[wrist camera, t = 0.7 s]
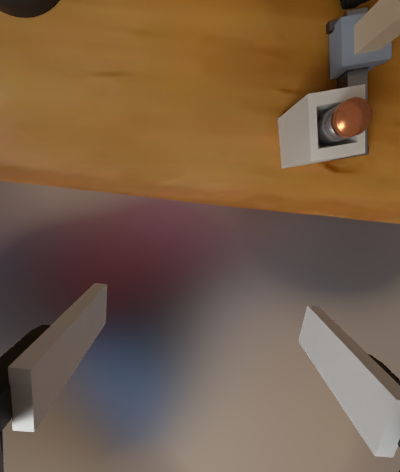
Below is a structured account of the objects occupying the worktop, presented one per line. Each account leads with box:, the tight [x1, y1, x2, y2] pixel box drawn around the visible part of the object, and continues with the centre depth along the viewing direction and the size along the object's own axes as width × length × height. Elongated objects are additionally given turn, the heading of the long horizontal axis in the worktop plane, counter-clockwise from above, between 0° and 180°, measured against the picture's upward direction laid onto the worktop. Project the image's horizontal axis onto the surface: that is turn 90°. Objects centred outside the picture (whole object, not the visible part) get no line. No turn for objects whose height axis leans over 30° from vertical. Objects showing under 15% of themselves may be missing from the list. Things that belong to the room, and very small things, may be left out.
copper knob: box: [317, 97, 372, 146], centre depth 28 cm, size 4×4×6 cm
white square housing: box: [278, 84, 365, 169], centre depth 32 cm, size 8×7×10 cm
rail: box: [326, 7, 369, 161], centre depth 35 cm, size 20×6×2 cm, turn 9°
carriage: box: [329, 0, 400, 79], centre depth 28 cm, size 6×7×13 cm
